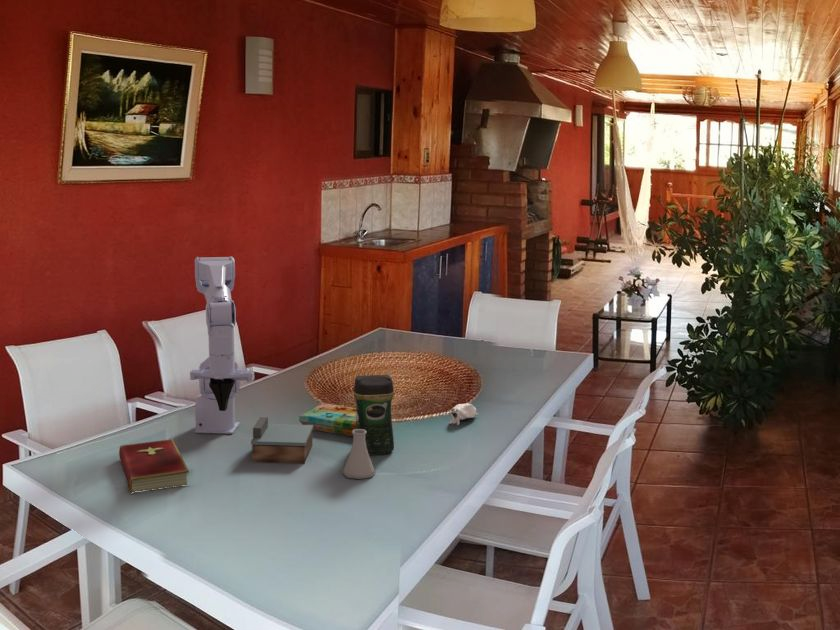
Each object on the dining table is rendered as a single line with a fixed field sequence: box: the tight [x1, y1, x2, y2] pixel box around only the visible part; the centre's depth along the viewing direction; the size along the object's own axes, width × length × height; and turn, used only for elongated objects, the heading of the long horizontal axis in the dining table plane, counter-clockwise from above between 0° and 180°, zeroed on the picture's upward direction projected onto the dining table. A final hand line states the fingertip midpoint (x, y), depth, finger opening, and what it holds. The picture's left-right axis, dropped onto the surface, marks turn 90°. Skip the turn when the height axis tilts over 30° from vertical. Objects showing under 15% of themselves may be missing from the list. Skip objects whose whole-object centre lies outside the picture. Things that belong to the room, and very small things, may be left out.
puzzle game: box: [298, 402, 356, 437], centre depth 221 cm, size 12×5×20 cm
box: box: [251, 431, 313, 465], centre depth 202 cm, size 12×12×4 cm
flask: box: [342, 429, 376, 480], centre depth 190 cm, size 7×7×10 cm
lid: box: [250, 416, 314, 446], centre depth 201 cm, size 12×12×3 cm
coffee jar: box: [353, 374, 395, 456], centre depth 204 cm, size 10×8×19 cm
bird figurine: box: [448, 402, 480, 426], centre depth 229 cm, size 5×7×10 cm
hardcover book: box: [118, 438, 190, 494], centre depth 189 cm, size 12×21×4 cm, turn 25°
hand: (223, 409), depth 201 cm, fingers closed
